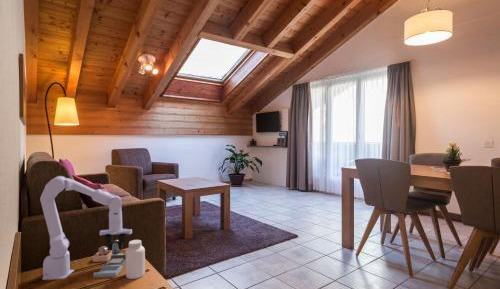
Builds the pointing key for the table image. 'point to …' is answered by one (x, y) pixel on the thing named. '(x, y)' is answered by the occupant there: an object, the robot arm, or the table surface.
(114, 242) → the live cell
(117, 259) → the pad
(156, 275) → the table surface
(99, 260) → the pink square tube
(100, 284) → the table surface
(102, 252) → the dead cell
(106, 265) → the digital scale
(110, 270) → the trough
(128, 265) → the pill bottle
